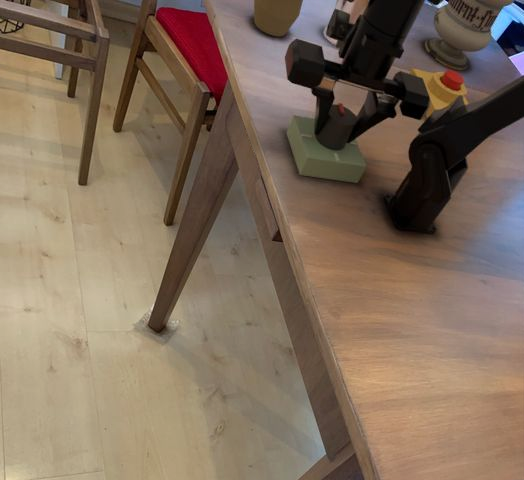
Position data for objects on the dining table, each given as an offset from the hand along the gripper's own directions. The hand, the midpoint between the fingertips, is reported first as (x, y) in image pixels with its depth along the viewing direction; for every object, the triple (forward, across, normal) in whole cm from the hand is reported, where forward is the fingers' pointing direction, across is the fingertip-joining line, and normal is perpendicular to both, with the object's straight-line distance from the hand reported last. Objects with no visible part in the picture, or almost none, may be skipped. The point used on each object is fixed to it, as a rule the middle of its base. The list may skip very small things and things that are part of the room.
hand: (331, 137), depth 77 cm
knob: (0, 0, 0) cm, 0 cm away
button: (0, -25, -25) cm, 36 cm away
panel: (+4, 0, 0) cm, 4 cm away
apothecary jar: (+4, -33, -45) cm, 56 cm away
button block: (+4, -26, -25) cm, 36 cm away
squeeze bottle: (+4, +6, -34) cm, 34 cm away
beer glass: (+4, -8, -38) cm, 38 cm away
